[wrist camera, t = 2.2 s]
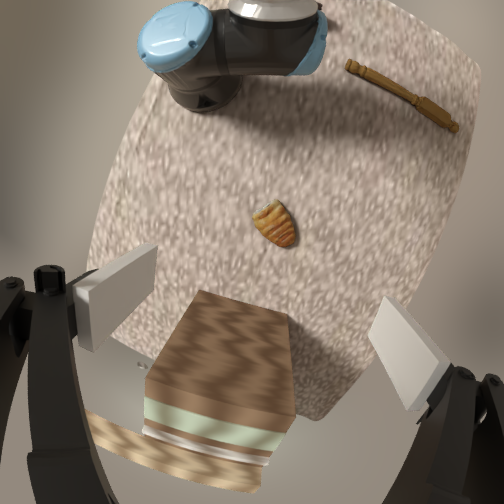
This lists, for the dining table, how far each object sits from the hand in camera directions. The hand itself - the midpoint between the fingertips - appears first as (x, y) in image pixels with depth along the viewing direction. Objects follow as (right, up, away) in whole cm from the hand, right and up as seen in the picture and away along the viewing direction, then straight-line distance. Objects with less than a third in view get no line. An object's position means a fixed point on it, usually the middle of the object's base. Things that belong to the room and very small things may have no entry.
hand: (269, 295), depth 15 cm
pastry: (+4, +8, +40) cm, 41 cm away
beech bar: (-15, -31, +20) cm, 40 cm away
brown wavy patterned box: (-6, -20, +48) cm, 52 cm away
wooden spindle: (+33, +36, +31) cm, 58 cm away
